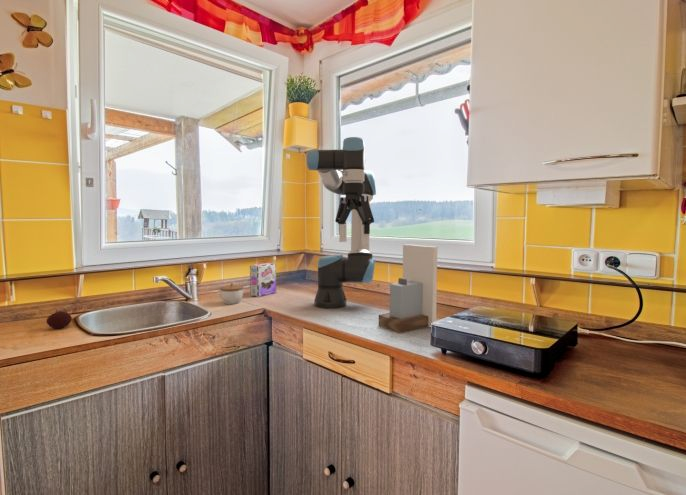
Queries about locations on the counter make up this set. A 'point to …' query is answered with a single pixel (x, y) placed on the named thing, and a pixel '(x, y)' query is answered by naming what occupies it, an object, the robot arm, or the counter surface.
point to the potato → (59, 319)
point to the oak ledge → (403, 322)
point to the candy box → (262, 279)
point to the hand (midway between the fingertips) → (353, 242)
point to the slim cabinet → (406, 299)
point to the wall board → (422, 274)
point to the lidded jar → (231, 293)
